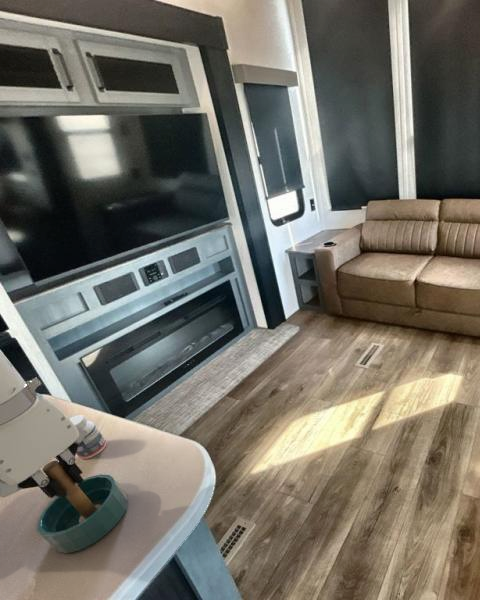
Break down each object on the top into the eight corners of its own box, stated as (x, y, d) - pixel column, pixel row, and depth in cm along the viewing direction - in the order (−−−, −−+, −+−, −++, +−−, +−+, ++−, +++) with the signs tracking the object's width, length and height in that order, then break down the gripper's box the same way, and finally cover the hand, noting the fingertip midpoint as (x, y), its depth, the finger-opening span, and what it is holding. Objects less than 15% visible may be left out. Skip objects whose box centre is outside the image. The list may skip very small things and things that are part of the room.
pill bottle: (73, 457, 81) (51, 428, 77) (97, 438, 85) (77, 410, 81) (89, 461, 79) (67, 433, 75) (112, 442, 83) (92, 414, 79)
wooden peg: (77, 524, 64) (30, 473, 58) (97, 505, 67) (55, 454, 61) (90, 529, 63) (44, 477, 57) (110, 510, 66) (68, 458, 60)
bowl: (39, 545, 64) (21, 526, 61) (103, 486, 73) (89, 468, 70) (82, 563, 60) (64, 544, 57) (143, 499, 69) (129, 481, 67)
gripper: (44, 369, 60) (100, 445, 69) (-91, 447, 47) (-2, 529, 56) (74, 374, 58) (127, 453, 67) (-61, 458, 45) (28, 542, 53)
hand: (68, 487), depth 61 cm, fingers closed on wooden peg, 2 cm apart
